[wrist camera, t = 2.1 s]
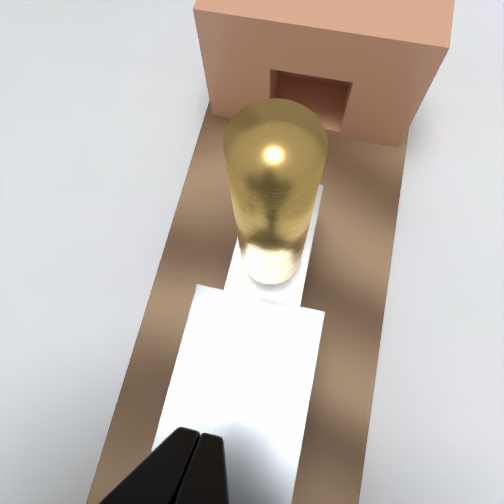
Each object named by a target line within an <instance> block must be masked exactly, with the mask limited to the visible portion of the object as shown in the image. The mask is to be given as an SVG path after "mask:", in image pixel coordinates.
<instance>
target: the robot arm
mask: <svg viewBox="0 0 504 504" xmlns="http://www.w3.org/2000/svg"><path fill="white" fill-rule="evenodd" d="M98 504H230V498H229V488H228V478H227V468H226V458H225V448H224V440H223V438H222V437H221V436H218V435H214V434H210V433H202V434H201V435H200V432H199V431H197V430H193V429H189V428H185V427H178V428H177V429H175V430H174V431H173V432H172V433H171V434H170V435H169V436H168V437H167V438H166V439H165V440H164V441H163V442H162V443H161V444H160V445H159V446H158V447H156V448H155V449H154V450H153V451H152V452H151V453H150V454H149V455H148V456H147V457H146V458H145V459H144V460H143V461H142V462H141V463H140V464H139V465H138V466H137V467H136V468H134V469H133V470H132V471H131V472H130V473H129V474H128V475H127V476H126V477H125V478H124V479H123V480H122V481H121V482H120V483H119V484H118V485H117V486H116V487H115V488H114V489H112V490H111V491H110V492H109V493H108V494H107V495H106V496H105V497H104V498H103V499H102V500H101V501H100V502H99V503H98Z"/></svg>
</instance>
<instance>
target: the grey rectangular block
mask: <svg viewBox="0 0 504 504" xmlns="http://www.w3.org/2000/svg"><path fill="white" fill-rule="evenodd" d="M324 315H325V312H324V311H319V310H314V309H310V308H305V307H300V306H296V305H291V304H287V303H282V302H277V301H273V300H268V299H263V298H259V297H254V296H249V295H245V294H240V293H235V292H231V291H226V290H221V289H217V288H212V287H208V286H203V285H198V284H197V287H196V290H195V294H194V298H193V301H192V305H191V309H190V312H189V316H188V320H187V323H186V327H185V331H184V334H183V338H182V341H181V345H180V349H179V352H178V356H177V360H176V363H175V367H174V371H173V374H172V378H171V382H170V385H169V389H168V393H167V396H166V400H165V403H164V407H163V411H162V414H161V418H160V422H159V425H158V429H157V433H156V436H155V440H154V444H153V447H152V451H153V450H154V449H155V448H156V447H158V446H159V445H160V444H161V443H162V442H163V441H164V440H165V439H166V438H167V437H168V436H169V435H170V434H171V433H172V432H173V431H174V430H175V429H177V428H178V427H185V428H189V429H193V430H197V431H199V432H200V435H201V434H202V433H210V434H214V435H218V436H221V437H222V438H223V440H224V448H225V458H226V468H227V478H228V488H229V498H230V504H291V502H292V496H293V490H294V485H295V479H296V473H297V468H298V462H299V456H300V451H301V445H302V439H303V434H304V428H305V422H306V417H307V411H308V405H309V400H310V394H311V388H312V383H313V377H314V372H315V366H316V360H317V355H318V349H319V343H320V338H321V332H322V326H323V321H324ZM152 451H151V452H152Z"/></svg>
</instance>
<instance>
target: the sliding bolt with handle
mask: <svg viewBox="0 0 504 504" xmlns="http://www.w3.org/2000/svg"><path fill="white" fill-rule="evenodd" d="M327 150H328V138H327V133H326V130H325V127H324V125H323V124H322V122H321V120H320V119H319V118H318V117H317V115H316V114H315V113H314V112H312V111H311V110H310V109H309V108H307V107H305V106H304V105H302V104H300V103H297V102H295V101H291V100H287V99H280V98H272V99H264V100H260V101H257V102H254V103H251V104H249V105H247V106H246V107H244V108H242V109H241V110H240V111H239V112H237V113H236V114H235V116H234V117H233V118H232V119H231V120H230V122H229V124H228V126H227V127H226V130H225V133H224V137H223V151H224V157H225V163H226V169H227V175H228V181H229V187H230V193H231V199H232V205H233V211H234V217H235V223H236V229H237V235H238V237H237V241H236V245H235V249H234V253H233V257H232V261H231V265H230V269H229V273H228V277H227V280H226V284H225V288H224V290H226V291H231V292H235V293H240V294H245V295H249V296H254V297H259V298H263V299H268V300H273V301H277V302H282V303H287V304H291V305H296V306H300V303H301V298H302V292H303V287H304V282H305V277H306V272H307V267H308V262H309V257H310V252H311V246H312V241H313V236H314V231H315V226H316V221H317V216H318V211H319V206H320V200H321V195H322V190H323V185H320V180H321V176H322V171H323V167H324V163H325V159H326V155H327Z"/></svg>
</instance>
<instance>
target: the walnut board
mask: <svg viewBox="0 0 504 504" xmlns="http://www.w3.org/2000/svg"><path fill="white" fill-rule="evenodd" d="M231 119H232V118H226V117H220V116H215V115H212V110H211V104H210V101H209V104H208V108H207V111H206V114H205V117H204V121H203V124H202V127H201V130H200V134H199V137H198V140H197V143H196V147H195V150H194V153H193V156H192V160H191V163H190V166H189V170H188V173H187V176H186V179H185V183H184V186H183V189H182V192H181V196H180V199H179V202H178V205H177V209H176V212H175V215H174V218H173V222H172V225H171V228H170V232H169V235H168V238H167V241H166V245H165V248H164V251H163V254H162V258H161V261H160V264H159V267H158V271H157V274H156V277H155V280H154V284H153V287H152V290H151V294H150V297H149V300H148V303H147V307H146V310H145V313H144V316H143V320H142V323H141V326H140V329H139V333H138V336H137V339H136V342H135V346H134V349H133V352H132V356H131V359H130V362H129V365H128V369H127V372H126V375H125V378H124V382H123V385H122V388H121V391H120V395H119V398H118V401H117V404H116V408H115V411H114V414H113V418H112V421H111V424H110V427H109V431H108V434H107V437H106V440H105V444H104V447H103V450H102V453H101V457H100V460H99V463H98V466H97V470H96V473H95V476H94V480H93V483H92V486H91V489H90V493H89V496H88V499H87V502H86V504H98V503H99V502H100V501H101V500H102V499H103V498H104V497H105V496H106V495H107V494H108V493H109V492H110V491H111V490H112V489H114V488H115V487H116V486H117V485H118V484H119V483H120V482H121V481H122V480H123V479H124V478H125V477H126V476H127V475H128V474H129V473H130V472H131V471H132V470H133V469H134V468H136V467H137V466H138V465H139V464H140V463H141V462H142V461H143V460H144V459H145V458H146V457H147V456H148V455H149V454H150V453H151V451H152V447H153V444H154V440H155V436H156V433H157V429H158V425H159V422H160V418H161V414H162V411H163V407H164V403H165V400H166V396H167V393H168V389H169V385H170V382H171V378H172V374H173V371H174V367H175V363H176V360H177V356H178V352H179V349H180V345H181V341H182V338H183V334H184V331H185V327H186V323H187V320H188V316H189V312H190V309H191V305H192V301H193V298H194V294H195V290H196V287H197V284H198V285H203V286H208V287H212V288H217V289H221V290H224V288H225V284H226V280H227V277H228V273H229V269H230V265H231V261H232V257H233V253H234V249H235V245H236V241H237V237H238V235H237V229H236V223H235V217H234V211H233V205H232V199H231V193H230V187H229V181H228V175H227V169H226V163H225V157H224V151H223V137H224V133H225V130H226V127H227V126H228V124H229V122H230V120H231ZM408 129H409V128H408ZM407 137H408V130H407V132H406V134H405V136H404V138H403V139H402V141H401V143H400V145H399V147H398V148H397V147H391V146H386V145H380V144H374V143H368V142H363V141H357V140H351V139H346V138H340V137H334V136H329V135H327V138H328V150H327V155H326V159H325V163H324V167H323V171H322V176H321V180H320V185H323V190H322V195H321V200H320V206H319V211H318V216H317V221H316V226H315V231H314V236H313V241H312V246H311V252H310V257H309V262H308V267H307V272H306V277H305V282H304V287H303V292H302V298H301V303H300V307H305V308H310V309H314V310H319V311H324V312H325V315H324V321H323V326H322V332H321V338H320V343H319V349H318V355H317V360H316V366H315V372H314V377H313V383H312V388H311V394H310V400H309V405H308V411H307V417H306V422H305V428H304V434H303V439H302V445H301V451H300V456H299V462H298V468H297V473H296V479H295V485H294V490H293V496H292V502H291V504H358V502H359V495H360V487H361V480H362V472H363V465H364V458H365V450H366V443H367V435H368V428H369V420H370V413H371V405H372V398H373V390H374V383H375V376H376V368H377V361H378V353H379V346H380V338H381V331H382V323H383V316H384V308H385V301H386V294H387V286H388V279H389V271H390V264H391V256H392V249H393V241H394V234H395V226H396V219H397V211H398V204H399V197H400V189H401V182H402V174H403V167H404V159H405V152H406V144H407Z"/></svg>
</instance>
